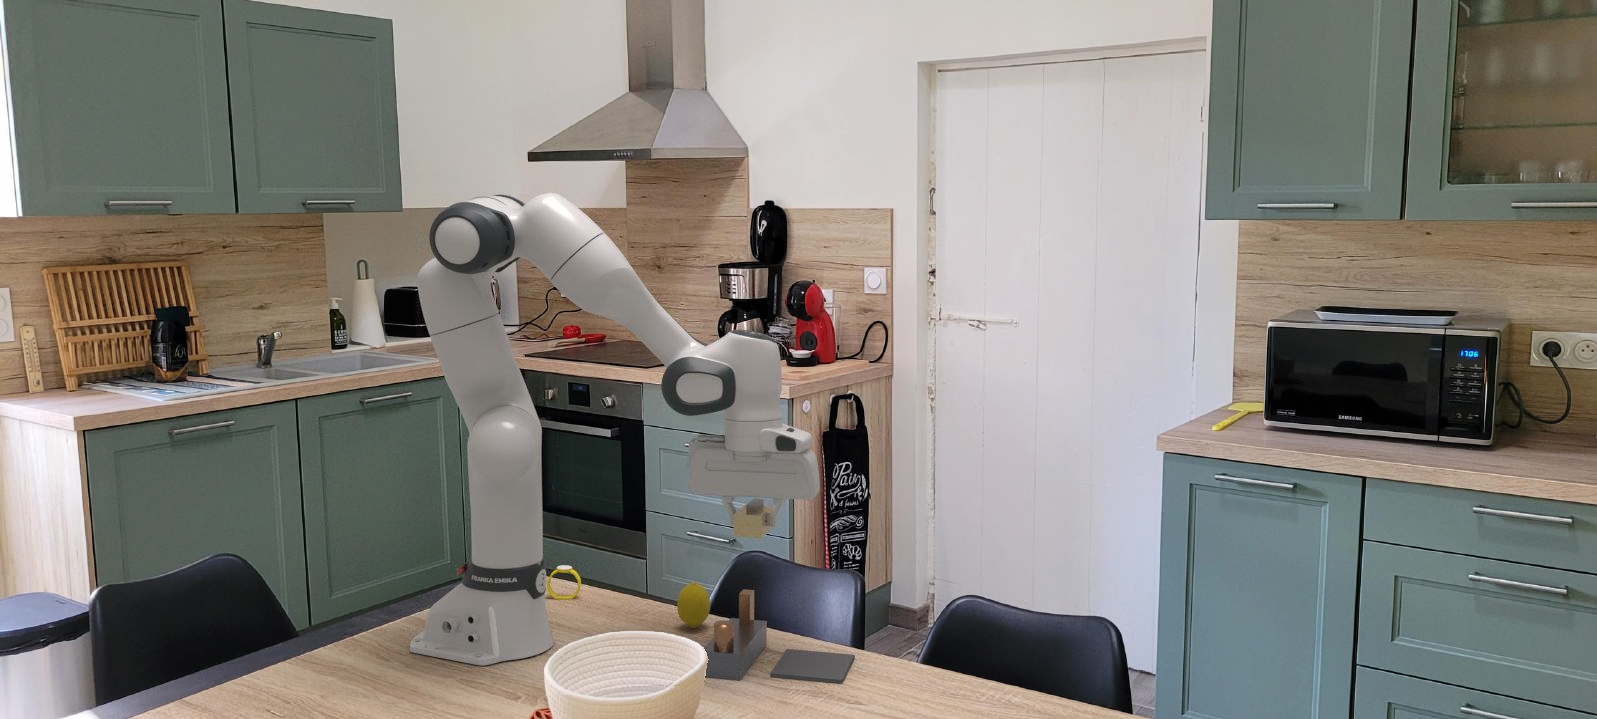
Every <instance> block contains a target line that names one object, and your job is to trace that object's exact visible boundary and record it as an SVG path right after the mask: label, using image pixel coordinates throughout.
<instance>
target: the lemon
mask: <svg viewBox="0 0 1597 719" xmlns="http://www.w3.org/2000/svg"><path fill="white" fill-rule="evenodd" d="M710 601H711V599H710V596H709V592H708V591H707V590H706V588H705V587H704V586H702V585H701V584H698V583H697V582H696V581H692V582H691V583H689V584H687V585H686V586H683V588H682V589H680V591H679V593H678V597H677V604H676V605H677V607H676V608H677V614H678V617H679V619H680V620H681V621H682V623H684V624H686V625H688V626H690V628H692V629H696V628H697V627H698V626H699V625H701V624H702V623H704V622H705V621H706V620H707V618H709V614H710V611H711V602H710Z"/></svg>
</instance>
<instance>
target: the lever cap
mask: <svg viewBox="0 0 1597 719" xmlns="http://www.w3.org/2000/svg"><path fill="white" fill-rule="evenodd" d="M736 511H737V512H736V513H734V525H733V538H748V539H749V538H751V539H752V538H753V539H763V538H764V537H765V536H766V535H767V534H768V533H769V532H771V530H772V529H773V528H774V527H770V526H766V522H767V520H766V515H768V514H769V513H773V512H774V505H773V504H765V503H764V498H753V499H752V500H750V501H749V502H748V503H745V504H744V505H743V506H742V507H740V508H739V509H738V510H736Z"/></svg>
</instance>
